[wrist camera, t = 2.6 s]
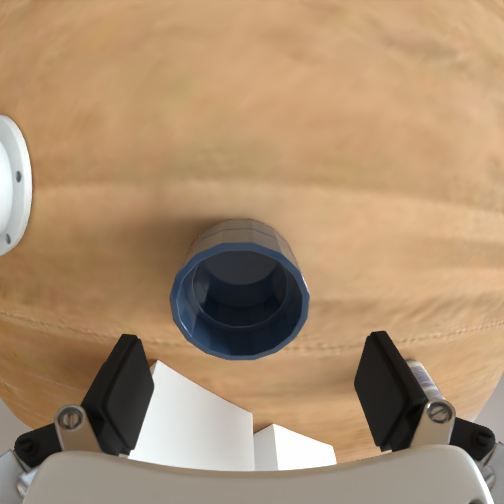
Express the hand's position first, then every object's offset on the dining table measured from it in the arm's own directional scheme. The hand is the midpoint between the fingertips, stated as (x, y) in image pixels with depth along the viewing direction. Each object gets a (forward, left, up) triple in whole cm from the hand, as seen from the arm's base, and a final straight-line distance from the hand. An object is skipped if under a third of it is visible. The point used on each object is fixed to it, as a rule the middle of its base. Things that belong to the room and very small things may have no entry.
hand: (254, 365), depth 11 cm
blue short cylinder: (-1, 0, -9) cm, 9 cm away
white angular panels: (-3, -21, -9) cm, 23 cm away
